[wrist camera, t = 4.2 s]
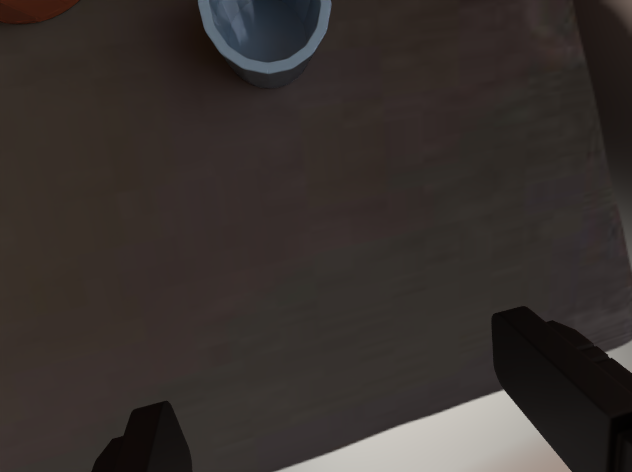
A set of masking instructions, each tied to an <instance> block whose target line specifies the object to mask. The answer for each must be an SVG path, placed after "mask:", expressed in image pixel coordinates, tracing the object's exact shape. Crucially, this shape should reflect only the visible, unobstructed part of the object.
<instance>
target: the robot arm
mask: <svg viewBox="0 0 632 472" xmlns="http://www.w3.org/2000/svg"><path fill="white" fill-rule="evenodd" d="M492 342H493V362H494V369H495V372H496V375H497V378H498V380H499V382H500V384H501V386H502V387H503V389H504V390H505V391H506V393H507V394H508V395H509V396H510V397H511V399H512V400H513V401H514V402H515V403H516V405H517V406H518V407H519V408H520V409H521V410H522V412H523V413H524V414H525V416H526V417H527V418H528V419H529V420H530V421H531V423H532V424H533V425H534V426H535V428H536V429H537V430H538V431H539V432H540V434H541V435H542V436H543V437H544V439H545V440H546V441H547V442H548V443H549V445H550V446H551V447H552V448H553V449H554V451H555V452H556V453H557V454H558V455H559V456H560V458H561V459H562V460H563V462H564V463H565V464H566V465H567V466H568V468H569V469H570V470H571V471H572V472H632V373H631V372H630V371H628V370H627V369H626V368H624V367H623V366H622V365H620V364H619V363H618V362H617V361H615V360H614V359H612V358H609V357H608V354H606V353H605V352H604V351H602V350H601V349H600V348H598V347H597V346H594V345H593V343H592V342H591V341H589V340H588V339H587V338H585V337H584V336H583V335H582V334H580V333H579V332H578V331H576V330H575V329H572V328H570V327H567V326H565V325H563V324H560V323H558V322H555V321H553V320H552V321H548V322H545V321H544V320H542V319H541V318H540V317H539V316H538V315H536V314H535V313H534V312H533V311H532V310H530V309H529V308H528V307H525V306H521V307H517V308H513V309H510V310H506V311H502V312H498V313H495V314H493V316H492ZM91 472H192V460H191V454H190V451H189V447H188V445H187V442H186V440H185V438H184V435H183V433H182V430H181V428H180V425H179V423H178V420H177V418H176V415H175V413H174V411H173V408H172V406H171V404H170V403H169V402H168V401H164V402H160V403H156V404H152V405H148V406H145V407H141V408H137V409H134V410H133V411H132V412H131V415H130V418H129V421H128V424H127V427H126V430H125V433H124V436H121V437H118V438H114V439H112V440H111V441H110V443H109V444H108V445H107V447H106V448H105V449H104V450H103V452H102V453H101V454H100V456H99V457H98V458H97V459H96V461H95V464H94V466H93V469H92V471H91Z"/></svg>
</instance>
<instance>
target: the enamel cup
mask: <svg viewBox="0 0 632 472" xmlns="http://www.w3.org/2000/svg"><path fill="white" fill-rule="evenodd" d="M198 6H199V10H200V14H201V18H202V22H203V26H204V29H205V32H206V33H207V35H208V36H209V38H210V39H211V41H212V42H213V43H214V45H215V46H216V48H217V49H218V51H219V52H220V54H221V55H222V56H223V57H224V59H225V60H226V61H227V63H228V64H229V65H230V66H231V68H232V69H233V70H234V72H235V73H236V74H237V75H238V76H240V77H241V78H242V79H244V80H245V81H247V82H248V83H250V84H251V85H254V86H257V87H261V88H278V87H282V86H285V85H288V84H289V83H291V82H292V81H294V80H295V79H296V78H298V77H299V76H300V75H301V74H302V73H303V71H304V69H305V68H306V66H307V64H308V63H309V61H310V60H311V58H312V56H313V54H314V53H315V51H316V49H317V47H318V46H319V44H320V42H321V41H322V39H323V37H324V35H325V34H326V31H327V27H328V22H329V16H330V11H331V0H198Z"/></svg>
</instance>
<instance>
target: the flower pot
mask: <svg viewBox="0 0 632 472" xmlns="http://www.w3.org/2000/svg"><path fill="white" fill-rule="evenodd" d="M78 1H79V0H0V22H2V23H9V24H28V23H35V22H40V21H44V20H47V19H51V18H53V17H55V16H57V15H59V14H62V13H63V12H65V11H66V10H68V9H69V8H71V7H72V6H74V5H75V4H76V3H77V2H78Z"/></svg>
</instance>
